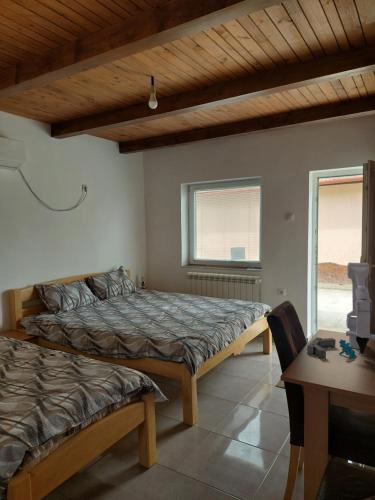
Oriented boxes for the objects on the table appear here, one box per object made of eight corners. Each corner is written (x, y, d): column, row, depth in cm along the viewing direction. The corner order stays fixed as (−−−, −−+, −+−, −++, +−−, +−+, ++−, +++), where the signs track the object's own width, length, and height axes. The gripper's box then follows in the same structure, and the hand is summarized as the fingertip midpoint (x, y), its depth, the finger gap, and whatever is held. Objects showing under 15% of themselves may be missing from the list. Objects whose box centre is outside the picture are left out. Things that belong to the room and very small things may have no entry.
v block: (318, 342, 191) (318, 335, 191) (336, 346, 186) (336, 338, 185) (304, 355, 173) (305, 347, 172) (324, 359, 167) (324, 351, 167)
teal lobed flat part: (351, 358, 165) (337, 339, 170) (341, 364, 168) (328, 345, 173) (361, 355, 172) (347, 337, 177) (351, 361, 175) (338, 343, 181)
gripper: (344, 324, 168) (344, 352, 169) (379, 329, 159) (378, 358, 160) (348, 321, 174) (347, 347, 175) (381, 325, 165) (380, 354, 166)
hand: (362, 352), depth 168 cm, fingers closed
